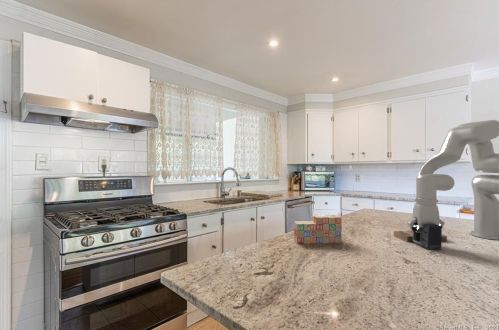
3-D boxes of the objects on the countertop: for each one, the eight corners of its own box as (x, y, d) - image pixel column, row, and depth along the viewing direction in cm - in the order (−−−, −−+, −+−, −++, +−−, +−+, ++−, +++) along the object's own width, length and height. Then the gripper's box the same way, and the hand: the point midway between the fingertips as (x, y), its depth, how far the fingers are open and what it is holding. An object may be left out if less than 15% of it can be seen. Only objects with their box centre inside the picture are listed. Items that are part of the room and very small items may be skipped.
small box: (442, 250, 108) (443, 225, 108) (428, 250, 108) (428, 225, 108) (425, 242, 118) (425, 220, 118) (411, 242, 118) (411, 220, 118)
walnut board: (430, 235, 130) (430, 230, 130) (446, 241, 120) (446, 235, 120) (393, 236, 129) (393, 231, 129) (407, 242, 119) (407, 236, 119)
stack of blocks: (297, 244, 116) (297, 217, 116) (293, 240, 122) (293, 214, 122) (341, 243, 118) (341, 217, 118) (336, 239, 124) (336, 214, 124)
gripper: (437, 200, 117) (437, 237, 117) (402, 201, 116) (402, 238, 116) (451, 203, 110) (451, 242, 110) (413, 203, 109) (413, 243, 109)
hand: (426, 240), depth 113 cm, fingers open, 8 cm apart
